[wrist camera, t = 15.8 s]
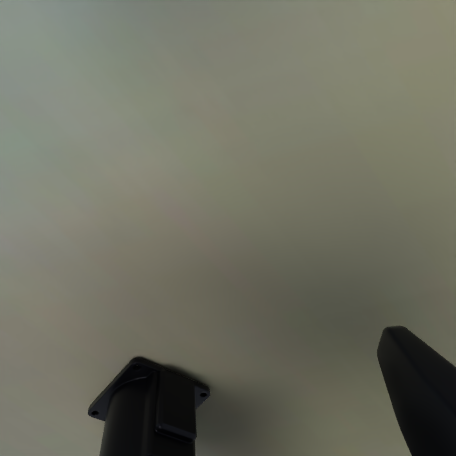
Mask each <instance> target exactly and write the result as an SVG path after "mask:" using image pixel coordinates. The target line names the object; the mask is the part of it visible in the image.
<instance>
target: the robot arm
mask: <svg viewBox="0 0 456 456" xmlns="http://www.w3.org/2000/svg"><path fill="white" fill-rule="evenodd" d="M377 357H378V361H379V364H380V367H381V371H382V374H383V377H384V380H385V383H386V387H387V390H388V393H389V396H390V399H391V402H392V406H393V409H394V412H395V415H396V418H397V421H398V424H399V426H400V429H401V431H402V434H403V436H404V439H405V441H406V443H407V446H408V448H409V450H410V453H411V455H412V456H456V367H455V366H454V365H452V364H451V363H450V362H449V361H447V360H446V359H445V358H444V357H442V356H441V355H440V354H439V353H437V352H436V351H435V350H433V349H432V348H431V347H430V346H428V345H427V344H426V343H425V342H423V341H422V340H421V339H420V338H418V337H417V336H416V335H414V334H413V333H412V332H411V331H409V330H408V329H407V328H405V327H403V326H392V327H386V328H385V329H384V330H383V332H382V336H381V339H380V342H379V346H378V349H377ZM136 365H138V366H136ZM209 396H210V388H209V387H208V386H206V385H203V384H201V383H198V382H196V381H194V380H191V379H189V378H187V377H184V376H182V375H179V374H177V373H175V372H172V371H170V370H167V369H165V368H163V367H160V366H158V365H156V364H153V363H151V362H148V361H146V360H144V359H141V358H134V359H132V360H131V361H130V362H129V363H128V364H127V365H126V366H125V368H124V369H123V370H122V371H121V372H120V373H119V374H118V375H117V376H116V377H115V379H114V380H113V381H112V382H111V383H110V384H109V385H108V386H107V387H106V389H105V390H104V391H103V392H102V393H101V394H100V395H99V396H98V397H97V398H96V400H95V401H94V402H93V403H92V404H91V405H90V407H89V410H88V415H89V416H91V417H94V418H97V419H100V420H103V421H105V426H104V432H103V438H102V444H101V450H100V455H99V456H195V439H196V437H197V430H196V409H197V408H198V407H199V406H200V405H201V404H202V403H203V402H204V401H205V400H206V399H207V398H208V397H209Z"/></svg>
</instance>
